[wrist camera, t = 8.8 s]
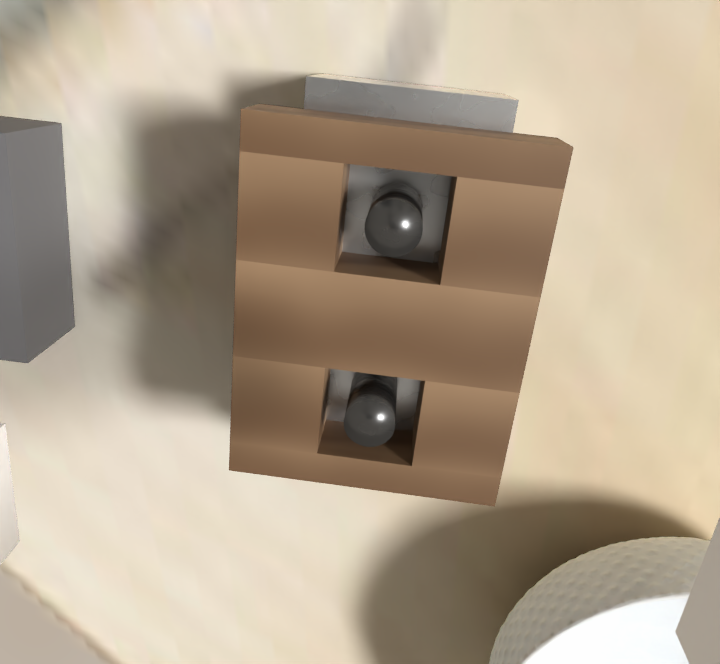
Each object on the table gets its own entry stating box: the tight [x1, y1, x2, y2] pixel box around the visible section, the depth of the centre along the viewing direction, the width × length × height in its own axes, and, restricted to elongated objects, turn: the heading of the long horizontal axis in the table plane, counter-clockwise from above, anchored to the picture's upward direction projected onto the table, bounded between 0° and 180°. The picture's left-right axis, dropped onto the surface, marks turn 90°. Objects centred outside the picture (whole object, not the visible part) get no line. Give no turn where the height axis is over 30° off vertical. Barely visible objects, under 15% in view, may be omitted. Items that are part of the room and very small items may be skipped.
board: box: [229, 104, 573, 506], centre depth 24 cm, size 13×10×2 cm
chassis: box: [304, 74, 519, 447], centre depth 25 cm, size 15×7×7 cm, turn 174°
